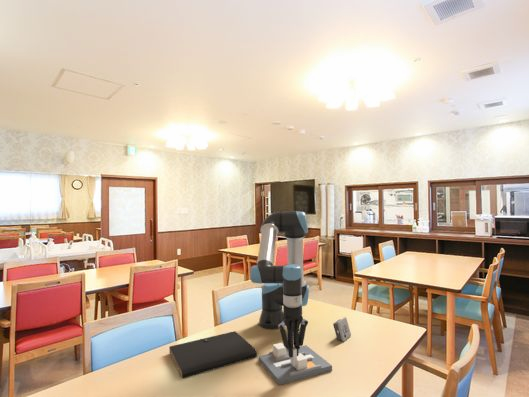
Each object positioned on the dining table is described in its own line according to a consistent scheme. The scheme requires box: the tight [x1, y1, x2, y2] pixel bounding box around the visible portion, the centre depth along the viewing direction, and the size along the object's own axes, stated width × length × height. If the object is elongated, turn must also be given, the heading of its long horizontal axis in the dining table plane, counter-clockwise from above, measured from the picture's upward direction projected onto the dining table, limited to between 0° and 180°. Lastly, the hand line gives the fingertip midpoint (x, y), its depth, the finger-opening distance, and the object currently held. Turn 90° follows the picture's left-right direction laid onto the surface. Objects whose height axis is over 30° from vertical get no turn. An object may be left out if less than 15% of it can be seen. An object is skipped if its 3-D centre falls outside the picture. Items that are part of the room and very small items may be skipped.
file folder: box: [169, 330, 258, 379], centre depth 137 cm, size 33×4×24 cm
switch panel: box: [257, 344, 333, 386], centre depth 127 cm, size 20×24×3 cm
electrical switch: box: [332, 317, 352, 343], centre depth 153 cm, size 9×5×9 cm, turn 141°
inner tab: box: [272, 342, 286, 358], centre depth 131 cm, size 5×4×4 cm
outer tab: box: [294, 353, 307, 370], centre depth 121 cm, size 5×4×4 cm
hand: (293, 364), depth 120 cm, fingers closed
